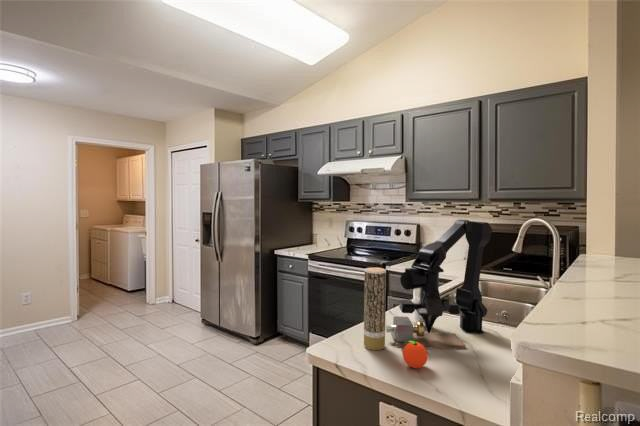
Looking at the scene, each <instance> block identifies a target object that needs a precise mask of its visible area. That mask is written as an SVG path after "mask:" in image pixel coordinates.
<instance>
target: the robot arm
mask: <svg viewBox="0 0 640 426" xmlns="http://www.w3.org/2000/svg"><path fill="white" fill-rule="evenodd" d="M492 233H493V227H492V226H491V224H490V223H489V222H486V221H485V222H484V221H475V220H474V221H470V220H468V219H457V220H455V221H454V223H453V224H452V225H451V226H450V227H449V228H448V229H447V230H446V231H445V232H444V233H443V234H441V235H440V237H439V238H437V240H435V241H434V242H431V243H428V244H426V245H425V246H423V247H421V248H420V249H419V250H418V253H417V256H416V257H415V258H414V261H413V263H412V264H411V267H405V269H404V271H403V272H402V274H401V276H400V285H401V286H402V287H403V289H404V290H406V291H409V290H414V289H417V288H420V290H421V291H420V304H414V303H413V300H412V299H411V300H410V299H408V300H407V299H401V300H400V301H399V306H398V308H399V309H400V311H401V313H402V314H413V313H415V309H416V311H417V312H418V314H419V315H420V316H422V318H423V321H424V324H425V327H426V329H425V330H426V333H432V332H431V331H432V329H433V326H434V324H435V322H436V321H437V319H438V318H439V317H442V316H443V313H444V312H448V313H449V314H450V315H460V314H461V315H460V318H459V327H460V328H461V329H462V330H463V332H465V333H467V334H472V333H473V334H477V333H478V334H484V333H485V332H484V330H483V318H485V317H486V316H487V314H488V309H487V307H486V306H485V305H484V303H483V295H482V292H481V290H480V287H479V284H480V278H481V277H480V276H481V272H482V264H483V263H482V262H483V256H484V249H485V247H486V245H487V244H488V243H489V242H490V240H491V236H492ZM464 235H465V239H466V241H467V244H468V249H467V254H466V255H467V258H466V263H465V264H466V265H465V271H464V278H463V279H464V280H463V284H462V285H461V286H460V287H457V288H456V289H455V297H454V299H455V301H454V300H450V299H449V298H441V296H440V290H439V289H440V288H439V284H440V283H439V281H440V279H439V278H440V274H441V273H444V269H443V268H442V267H441V265H442V264H443V263H444V261H445V259H446V258H447V252H449V250H451V248H452V247H453V246H455V244H456V243H458V242H459V240H461V238H463V237H464Z"/></svg>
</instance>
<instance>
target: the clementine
mask: <svg viewBox="0 0 640 426" xmlns="http://www.w3.org/2000/svg"><path fill="white" fill-rule="evenodd" d="M407 342H410V343H408V344H407V345H406V346H405V347H403V349H402V358H403V361H404V362H405V364H406V365H407V366H409V367H410V368H413V369H421V368H422V367H424V366H425V365H426V364H427V362H428V358H429V355H428V351H427V348H425V347H424V346H423V345H422V344H420V343H418V342H414V341H407ZM405 343H406V342H405ZM404 345H405V344H404Z"/></svg>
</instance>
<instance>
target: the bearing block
mask: <svg viewBox="0 0 640 426" xmlns="http://www.w3.org/2000/svg"><path fill="white" fill-rule="evenodd" d="M392 317H393V321H392V322H393V323H392V325H396V333H393V334H394V336H395V339H396V341H397V343H405V342H406V343H410V342H407V341H413V325H414V323H413V322H412V321H411V320H410V318H409V316H392Z"/></svg>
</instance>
